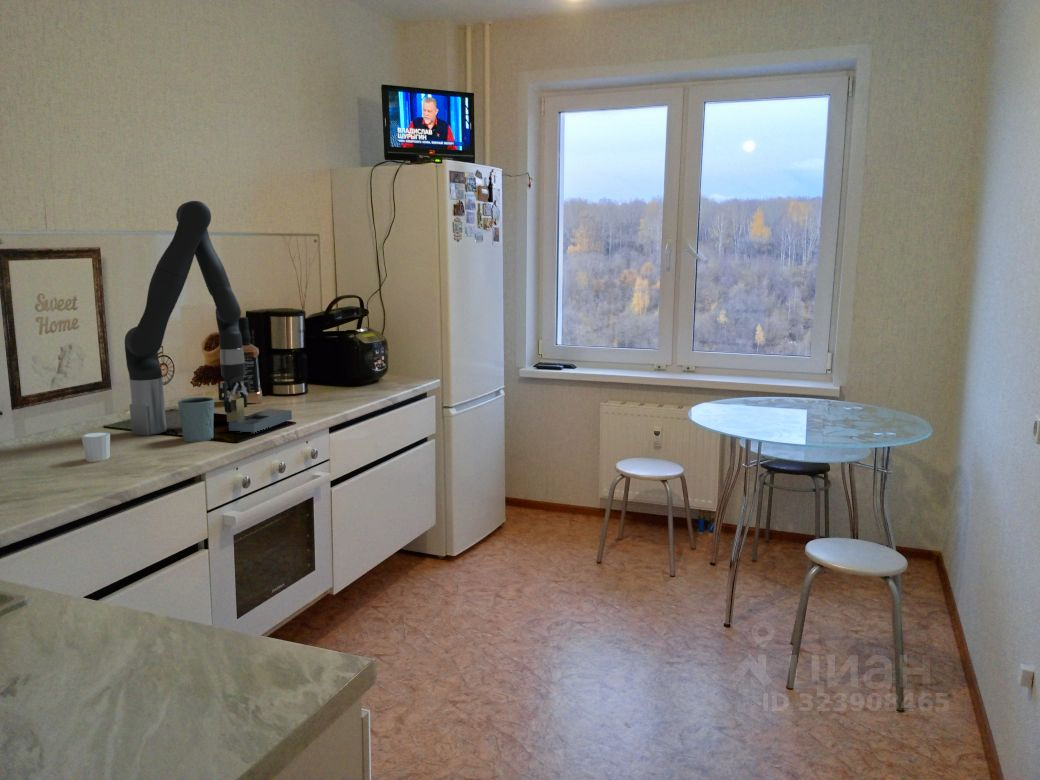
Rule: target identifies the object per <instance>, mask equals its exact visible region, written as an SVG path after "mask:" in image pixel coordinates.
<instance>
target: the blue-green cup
mask: <svg viewBox="0 0 1040 780" xmlns="http://www.w3.org/2000/svg"><path fill="white" fill-rule="evenodd" d="M177 404H178V410H179V416H180V423H181V429H182V431H181V432H182V439H183V441H184V442H190V443H198V442H205V441H209V440H212V439H213V438H214V423H215V422H214V420H215V419H214V418H215V417H214V412H215V409H214V408H215V398H213V397H203V396H199V397H188V398H181V399H179V400H177ZM211 438H212V439H211Z"/></svg>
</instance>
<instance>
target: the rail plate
mask: <svg viewBox="0 0 1040 780" xmlns="http://www.w3.org/2000/svg"><path fill="white" fill-rule="evenodd" d="M292 414H293V413H292V410H291V409H278V408H277V409H276V408H275V409H274V408H267V409H263V410H260V411H258V412H255V413H252V414H249V415H246V416H245V417H243V418H240V419H237V420H234V421H231V422H229V423H228V431H240V432H239V433H242V432H251V433H250V434H256V433H258V432H257V431H259V432H261V431H260V430H262V431H264V430H266V428H267V429H269V428H272V427H274V426H277V425H279V424H282V423H284V422H285V423H286V422H287V420H288V421H291V420H292V419H293V415H292ZM268 427H269V428H268ZM263 429H264V430H263ZM255 432H256V433H255Z"/></svg>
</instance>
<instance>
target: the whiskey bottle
mask: <svg viewBox="0 0 1040 780" xmlns="http://www.w3.org/2000/svg"><path fill="white" fill-rule="evenodd" d="M238 323H239V331H240V333H241V336H242V348H243V352H244V361H245V375H244V376H249V379H250V388H251V393H249V394H248V396H247V403H256V404H262V402H263V392H262V388H261V381H260V380H261V379H260V368H259V367H260V366H259V354H260V350H259V347H256V346H255V345H253V344H252V343H251V337H252V336H251V333H250V330H249V327H250V326H249V318H248V317H246V316H240V318H239V320H238ZM245 388H246V390H247V387H246V386H245ZM232 397H239V398H240V395H239V393H238V392H236V393H235V394H234V396H232ZM261 401H262V402H261Z"/></svg>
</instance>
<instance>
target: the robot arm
mask: <svg viewBox="0 0 1040 780" xmlns="http://www.w3.org/2000/svg"><path fill="white" fill-rule="evenodd" d="M175 213H176V214H175V216H176V221H177V225H176V230H175V232H174V235H173V238H172V239H171V242H170V243H169V244H168V246H167V247H166V249H165V250H164V252H163V253H162V256H161V257H160V258H159V260H158V262H157V265H156V266H155V268H154V271H153V273H152V276H151V278H150V282H149V284H148V285H149V286H148V290H147V297H146V305H145V307H144V311H143V313H142V316H141V318H140V320H139V321H138V324H137V326H134V327H132V328H130V329H128V331H127V333H126V334H125V337H124V353H125V361H126V367H127V371H128V376H129V386H130V388H129V389H130V398H131V403H130V404H129V414H130V415H129V417H130V426H131V435H135V436H136V435H137V436H151V435H159V434H162V432H163V433H165V432H167V420H166V407H165V395H164V384H163V383H164V382H163V373H162V372H163V370H162V368H161V364H160V360H159V351H160V349H161V348H162V344H163V342H164V341H163V340H164V337H165V334H166V333H165V332H166V330H167V328H168V327H167V326H168V323H169V320H170V318H171V315H172V313H173V311H174V310H175V307H176V305H177V302H178V300H179V298H180V296H181V293H182V291H183V289H184V286H185V284H186V281H187V279H188V276H189V274H190V270H191V267H192V264H193V261H194V258H196V261H197V263H198V266H199V269H200V272H201V275H202V278H203V281H204V283H205V285H206V288H207V290H208V293H209V295H210V296H211V297H212V298H213V302H214V305H215V317H216V324H217V330H218V334H219V335H218V337H219V338H218V339H219V340H218V341H219V361H220V371H221V372H220V374H221V377H222V378H224V381H223V382H220V381H219V382H218V383H217V386H218V387H217V388H218V400H219V401H220V402H223V407H224V412H225V413H226V414H227V413H231V412H232V404H231V399H232V397H233V396H234V394H235V393H236V392H238V393H239V395H240V398H243V399H244V409H245V408H248V404H247V396H248V394H249V393H251V388H250V379H249V376H244V375H245V361H244V352H243V348H242V336H241V333H240V331H239V323H238V320H239V318H240V317H242V316H241V315H242V310H241V306H240V304H239V302H238V299H237V298H236V295H235V294H234V291H233V289H232V286H231V283H230V281H229V277H228V274H227V271H226V269H225V267H224V264H223V262H222V261H221V259H220V257H219V256H218V255H219V254H217V251H216V250H215V247H214V246H213V244H212V240H211V238H210V235H209V231H208V227H209V226H210V224H211V222H212V213H211V210H210V208H209V207H208V205H207V204H205V203H204V202H202V201H199V200H190V201H187V202H183V203H182V204H181V205H180V206H179V207H178V208H177V210H176V212H175ZM245 386H246V387H247V390H246V388H245Z"/></svg>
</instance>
